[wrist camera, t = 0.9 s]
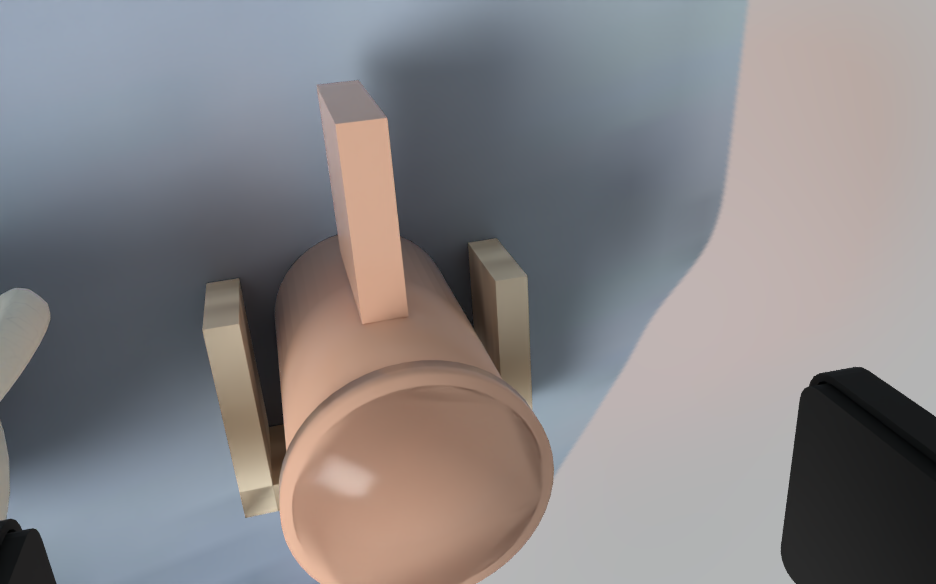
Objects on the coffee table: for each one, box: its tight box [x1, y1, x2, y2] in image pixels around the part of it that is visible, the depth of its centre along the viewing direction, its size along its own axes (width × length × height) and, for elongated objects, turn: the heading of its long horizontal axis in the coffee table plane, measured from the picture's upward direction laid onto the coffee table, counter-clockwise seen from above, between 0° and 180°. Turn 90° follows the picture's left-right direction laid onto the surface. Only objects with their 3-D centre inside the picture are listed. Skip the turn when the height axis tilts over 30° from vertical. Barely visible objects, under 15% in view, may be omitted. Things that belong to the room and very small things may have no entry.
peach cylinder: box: [275, 80, 554, 584], centre depth 26 cm, size 13×8×12 cm, turn 4°
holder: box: [202, 238, 532, 518], centre depth 32 cm, size 8×11×4 cm
